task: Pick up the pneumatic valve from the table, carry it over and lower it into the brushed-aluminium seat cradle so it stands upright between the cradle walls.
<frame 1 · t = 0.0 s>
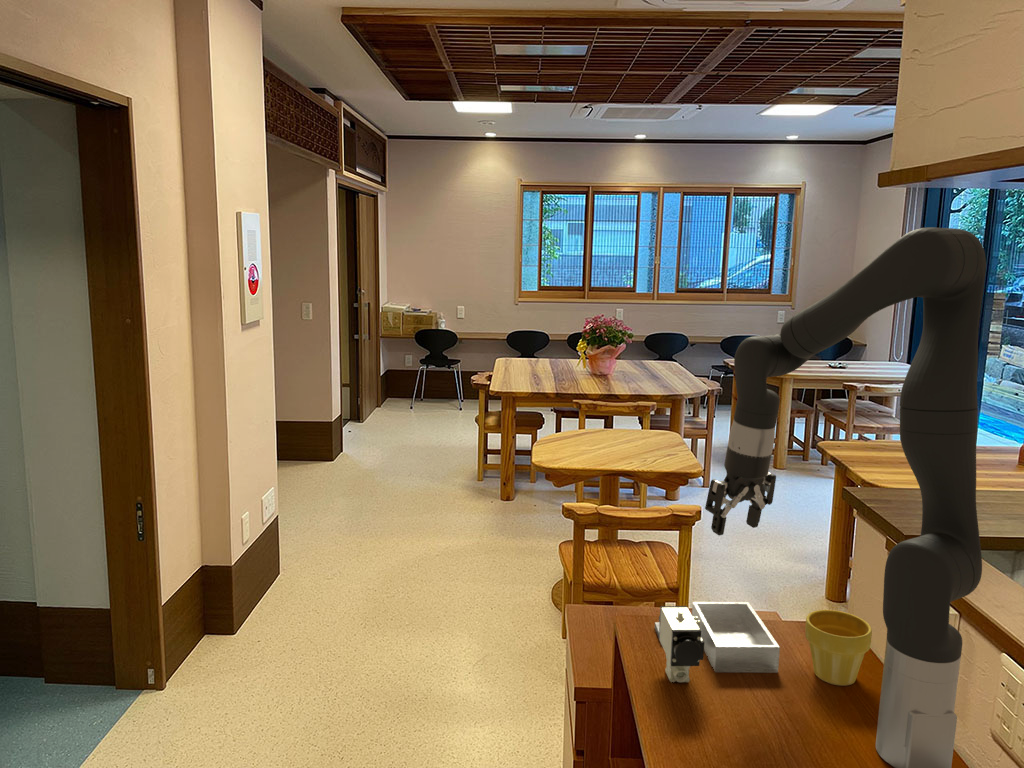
hand: (734, 529, 133), 22 cm above the table, tool pointing down, fingers open, 8 cm apart
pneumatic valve: (679, 678, 126), on the table
plant pot: (833, 676, 127), on the table
gray square frame: (673, 635, 140), on the table
seat cradle: (732, 647, 136), on the table
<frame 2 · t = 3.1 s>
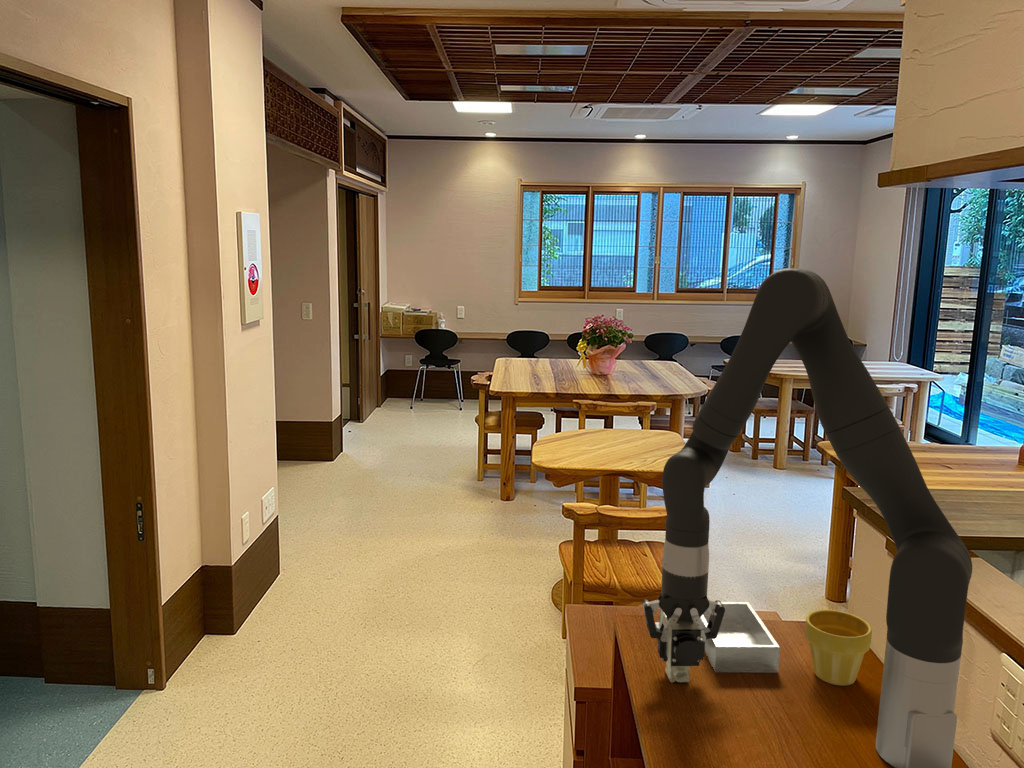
hand: (680, 658, 125), 3 cm above the table, tool pointing down, fingers closed on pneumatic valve, 5 cm apart
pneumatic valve: (679, 678, 126), on the table, touching gripper
everything else where it was.
when the fingers open (6 cm above the table, at t = 8.2 s): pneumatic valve drops 2 cm, resting on seat cradle.
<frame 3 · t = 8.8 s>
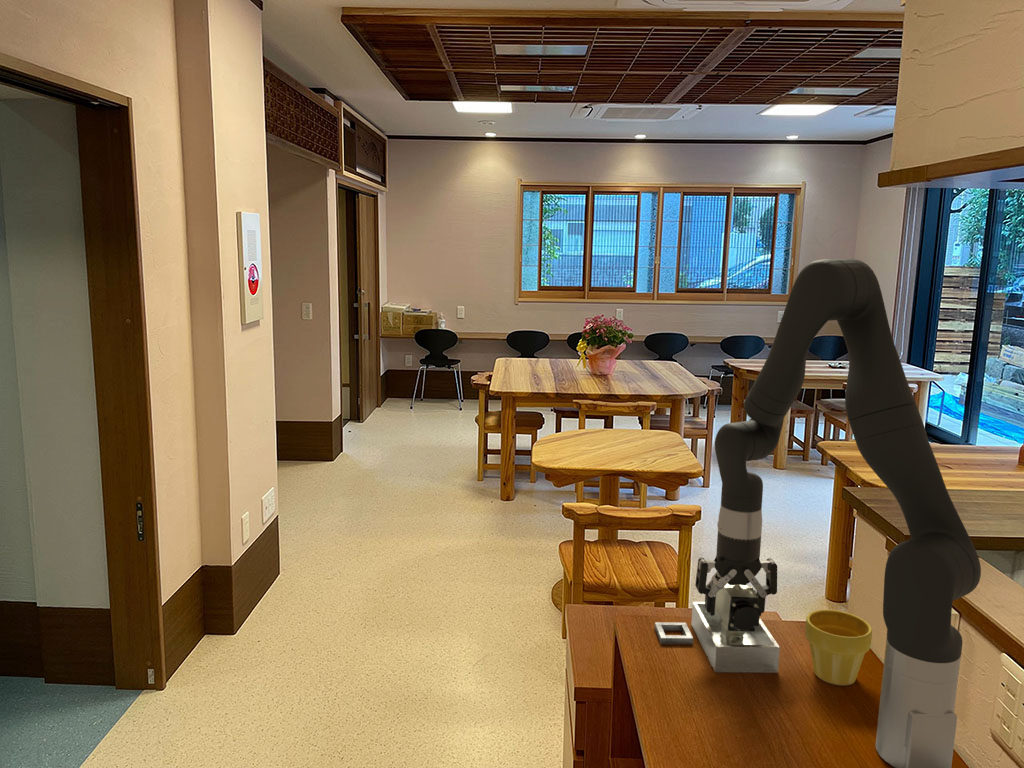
hand: (734, 614, 135), 7 cm above the table, tool pointing down, fingers open, 8 cm apart
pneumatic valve: (733, 644, 136), point 1 cm above the table, touching seat cradle
everything else where it was.
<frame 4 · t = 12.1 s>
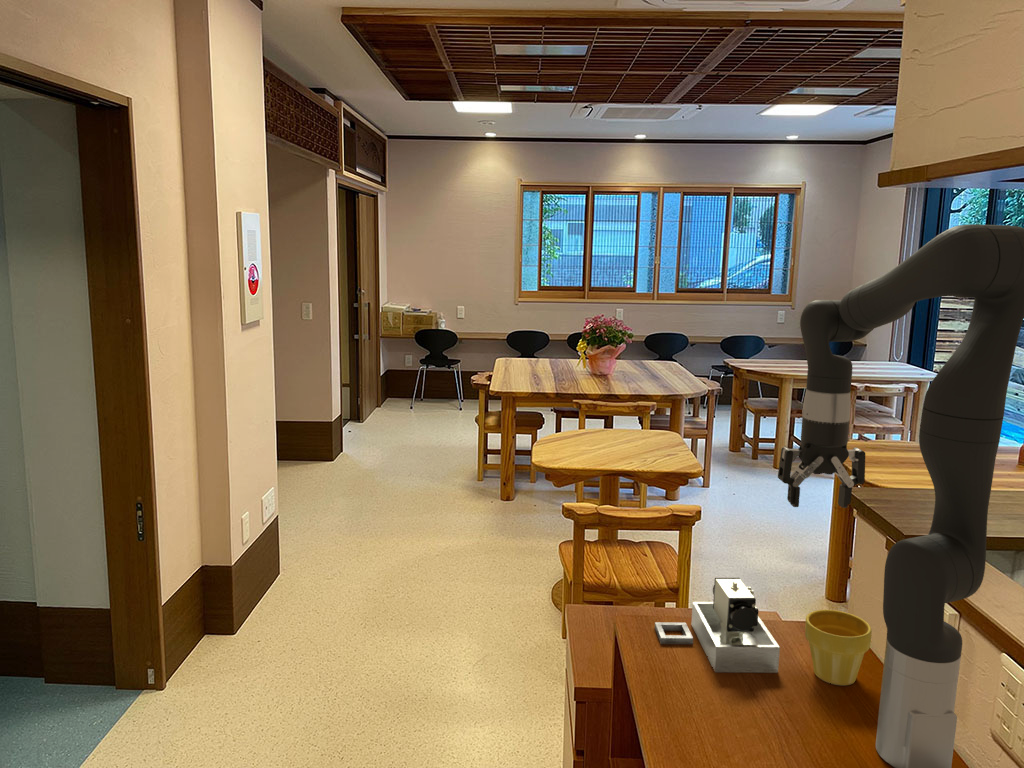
hand: (818, 506, 129), 28 cm above the table, tool pointing down, fingers open, 8 cm apart
nothing on the table moved.
at the end: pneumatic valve 0.2 cm off-centre on the seat cradle, point 0.6 cm above the seat cradle's base; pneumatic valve tilted 0°; the gripper is holding nothing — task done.
